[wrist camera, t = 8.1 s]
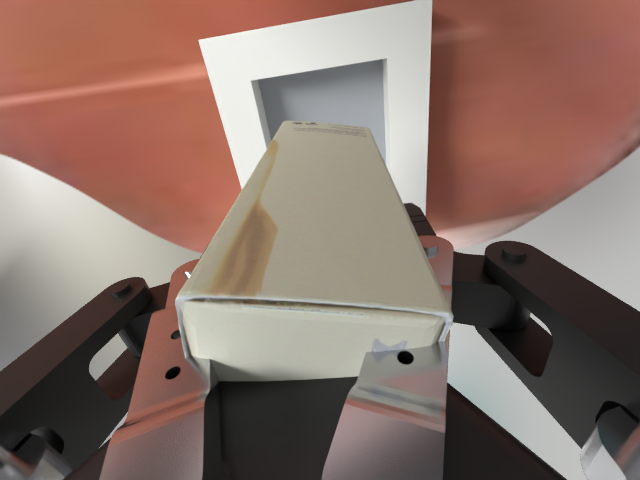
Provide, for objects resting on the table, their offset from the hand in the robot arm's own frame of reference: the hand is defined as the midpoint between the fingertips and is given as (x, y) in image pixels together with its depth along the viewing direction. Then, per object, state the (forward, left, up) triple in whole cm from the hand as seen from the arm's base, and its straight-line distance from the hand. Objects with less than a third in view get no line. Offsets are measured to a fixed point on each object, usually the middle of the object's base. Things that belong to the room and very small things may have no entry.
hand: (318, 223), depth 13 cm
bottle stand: (0, 0, -18) cm, 18 cm away
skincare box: (0, 0, -5) cm, 5 cm away
